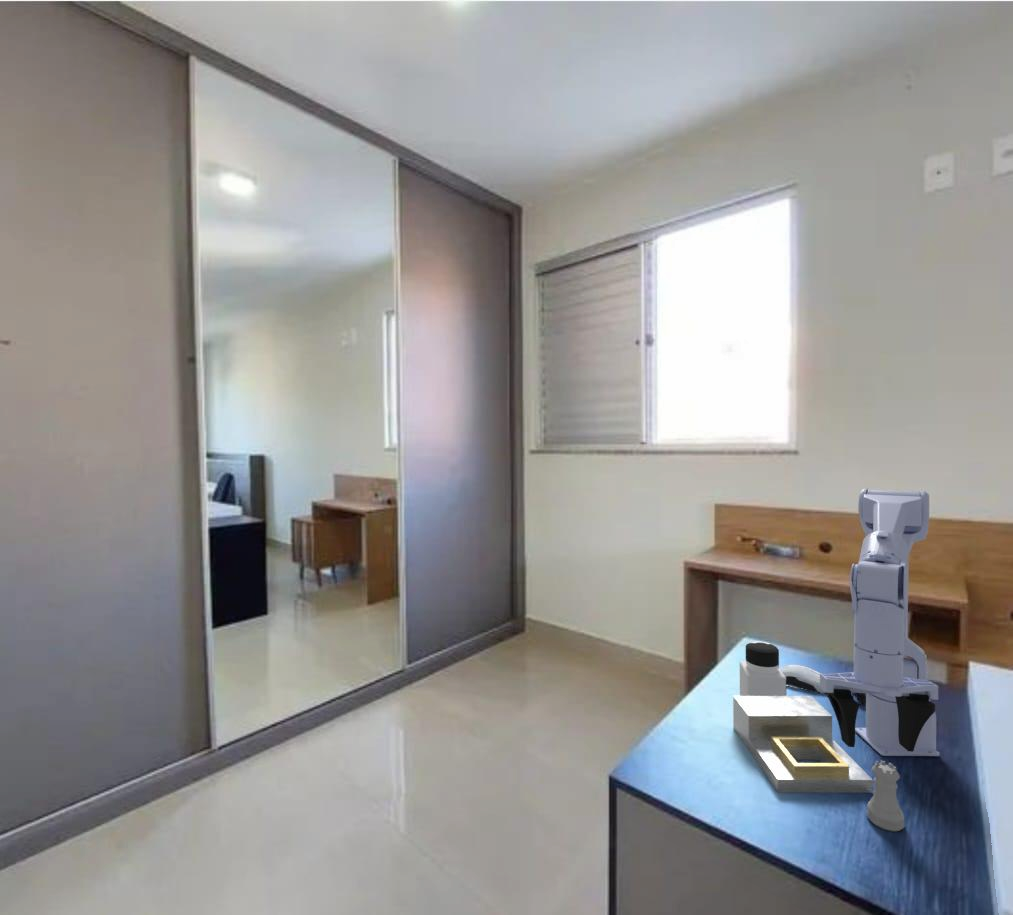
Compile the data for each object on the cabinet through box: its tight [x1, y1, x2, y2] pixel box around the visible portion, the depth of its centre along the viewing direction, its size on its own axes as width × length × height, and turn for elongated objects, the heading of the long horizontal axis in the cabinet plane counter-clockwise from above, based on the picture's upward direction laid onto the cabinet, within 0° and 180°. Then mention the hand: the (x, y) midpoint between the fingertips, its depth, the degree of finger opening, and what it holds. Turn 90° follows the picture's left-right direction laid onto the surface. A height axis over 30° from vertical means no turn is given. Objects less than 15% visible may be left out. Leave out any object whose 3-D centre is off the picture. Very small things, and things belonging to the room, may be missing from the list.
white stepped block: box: [732, 695, 874, 794], centre depth 90 cm, size 14×18×6 cm
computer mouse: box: [779, 664, 866, 706], centre depth 114 cm, size 10×18×4 cm, turn 58°
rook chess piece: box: [865, 760, 906, 833], centre depth 75 cm, size 4×4×8 cm
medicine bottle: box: [739, 640, 787, 696], centre depth 108 cm, size 7×7×12 cm
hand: (876, 745), depth 75 cm, fingers open, 7 cm apart
